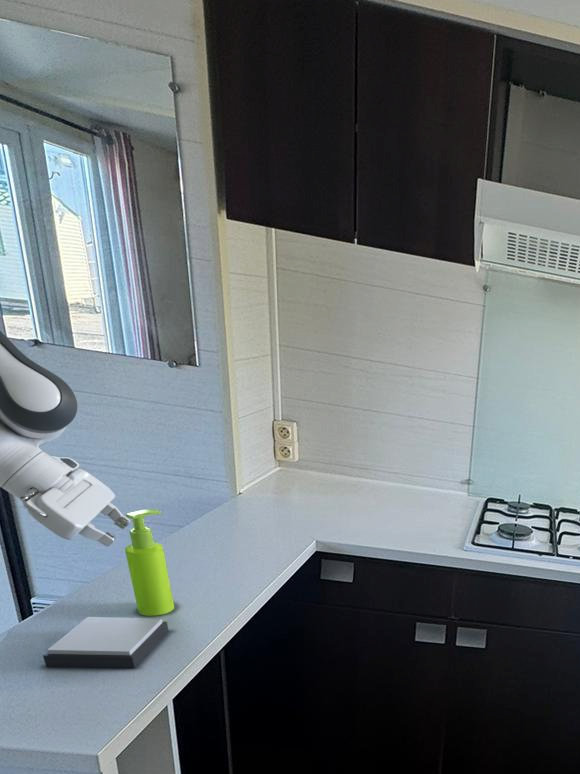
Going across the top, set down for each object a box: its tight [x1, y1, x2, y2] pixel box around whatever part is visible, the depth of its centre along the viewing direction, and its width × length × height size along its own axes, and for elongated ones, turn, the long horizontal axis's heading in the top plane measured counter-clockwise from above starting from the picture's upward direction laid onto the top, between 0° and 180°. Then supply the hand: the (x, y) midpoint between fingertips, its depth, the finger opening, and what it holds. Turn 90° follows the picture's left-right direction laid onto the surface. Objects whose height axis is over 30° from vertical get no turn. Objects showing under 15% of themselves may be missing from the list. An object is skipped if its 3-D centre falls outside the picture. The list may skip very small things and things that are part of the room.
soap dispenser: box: [124, 508, 175, 617], centre depth 120 cm, size 6×7×20 cm
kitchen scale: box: [42, 616, 170, 669], centre depth 109 cm, size 13×13×3 cm
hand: (120, 533), depth 117 cm, fingers open, 8 cm apart
